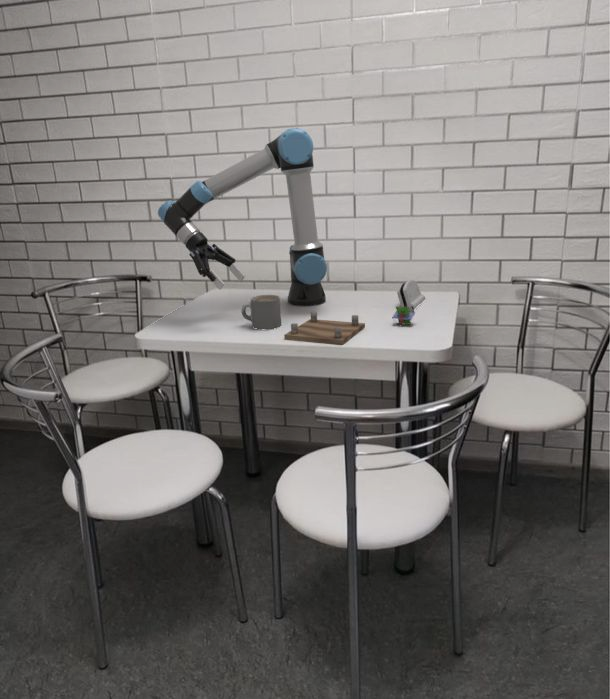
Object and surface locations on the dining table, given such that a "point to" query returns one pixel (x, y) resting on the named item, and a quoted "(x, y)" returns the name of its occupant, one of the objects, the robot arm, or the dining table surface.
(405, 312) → the geometric puzzle
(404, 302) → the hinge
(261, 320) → the coffee mug
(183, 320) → the dining table surface
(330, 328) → the standoff board
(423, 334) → the dining table surface
